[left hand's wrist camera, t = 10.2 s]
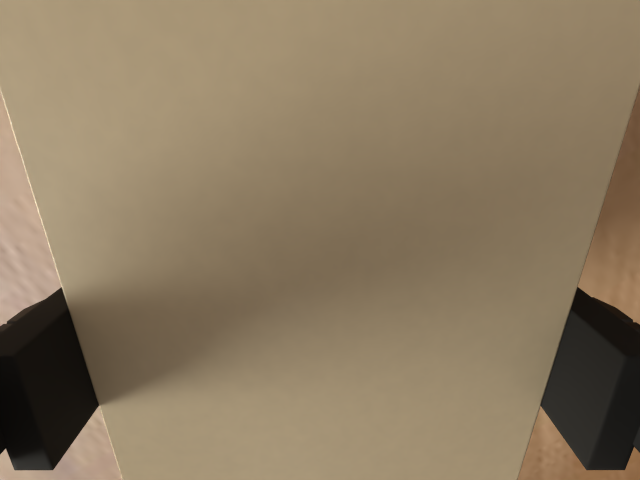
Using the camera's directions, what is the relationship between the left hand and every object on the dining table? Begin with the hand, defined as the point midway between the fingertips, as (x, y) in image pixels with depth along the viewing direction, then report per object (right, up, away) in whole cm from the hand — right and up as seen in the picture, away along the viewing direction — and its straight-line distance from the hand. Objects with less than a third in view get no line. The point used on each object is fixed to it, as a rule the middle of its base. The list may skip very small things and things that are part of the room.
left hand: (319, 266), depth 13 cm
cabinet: (0, +8, +2) cm, 8 cm away
